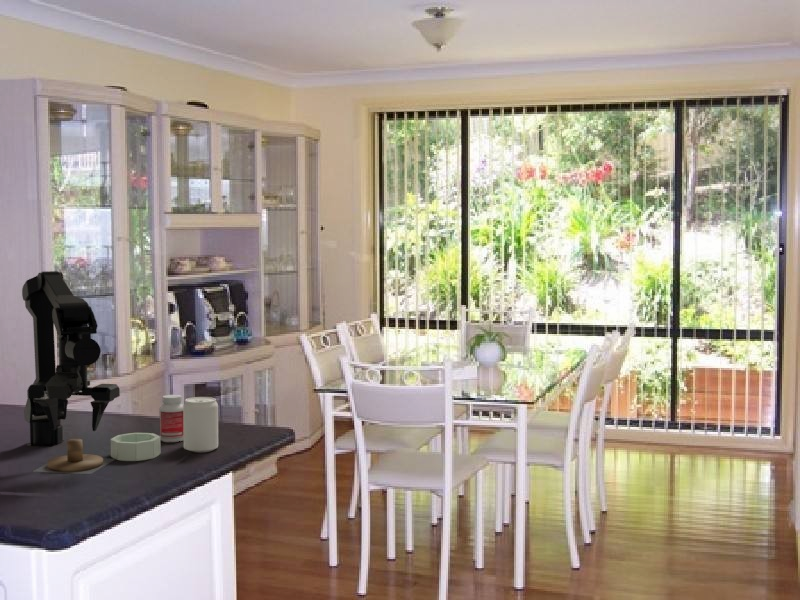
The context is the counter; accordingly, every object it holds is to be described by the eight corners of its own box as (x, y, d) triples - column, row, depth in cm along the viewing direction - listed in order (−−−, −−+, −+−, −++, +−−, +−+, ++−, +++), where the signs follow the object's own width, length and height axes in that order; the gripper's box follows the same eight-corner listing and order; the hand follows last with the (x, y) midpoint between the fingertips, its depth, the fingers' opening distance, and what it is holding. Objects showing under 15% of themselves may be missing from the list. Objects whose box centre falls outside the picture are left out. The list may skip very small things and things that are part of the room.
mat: (32, 474, 199) (32, 471, 199) (61, 459, 212) (61, 456, 212) (90, 476, 198) (90, 474, 198) (116, 461, 211) (116, 458, 211)
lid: (36, 470, 200) (36, 445, 200) (62, 457, 212) (62, 433, 211) (88, 473, 199) (88, 447, 198) (111, 459, 210) (111, 435, 210)
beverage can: (188, 454, 217) (188, 403, 216) (179, 447, 225) (179, 398, 224) (222, 451, 221) (222, 401, 220) (212, 444, 228) (212, 395, 227)
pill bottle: (189, 441, 231) (188, 396, 230) (164, 444, 228) (164, 399, 227) (180, 436, 236) (179, 392, 235) (156, 439, 233) (155, 395, 232)
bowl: (105, 462, 210) (104, 442, 210) (123, 451, 220) (123, 432, 220) (148, 464, 209) (148, 443, 208) (165, 453, 219) (165, 433, 218)
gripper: (13, 363, 196) (14, 436, 198) (98, 366, 194) (99, 440, 195) (39, 356, 207) (41, 425, 209) (120, 358, 205) (121, 428, 207)
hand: (74, 430), depth 205 cm, fingers open, 9 cm apart
